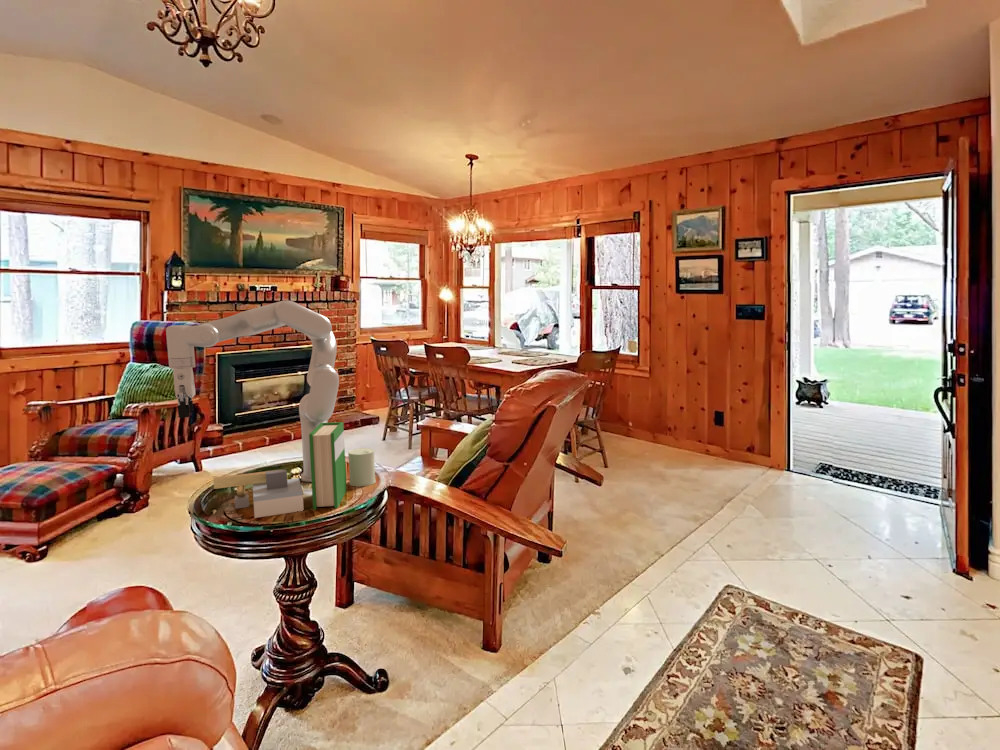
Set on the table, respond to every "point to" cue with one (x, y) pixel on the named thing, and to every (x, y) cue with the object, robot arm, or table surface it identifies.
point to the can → (361, 467)
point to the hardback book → (327, 464)
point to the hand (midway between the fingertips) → (186, 414)
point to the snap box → (272, 505)
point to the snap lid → (276, 487)
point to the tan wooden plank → (240, 481)
